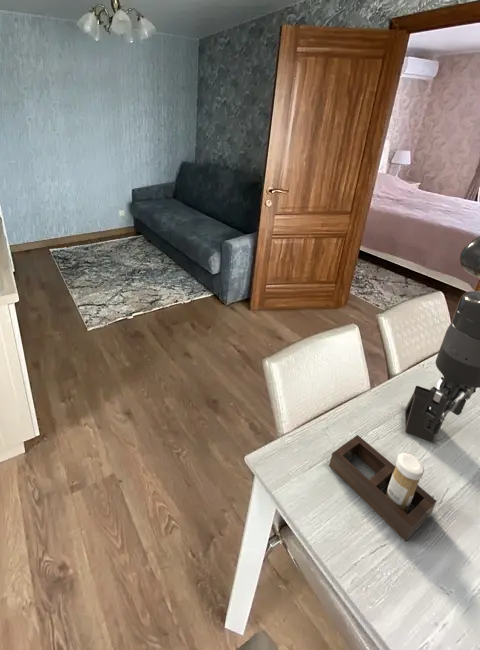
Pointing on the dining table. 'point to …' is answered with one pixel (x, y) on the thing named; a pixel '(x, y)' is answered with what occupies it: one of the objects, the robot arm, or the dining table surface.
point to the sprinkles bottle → (404, 481)
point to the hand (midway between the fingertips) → (441, 420)
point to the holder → (380, 486)
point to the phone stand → (417, 414)
